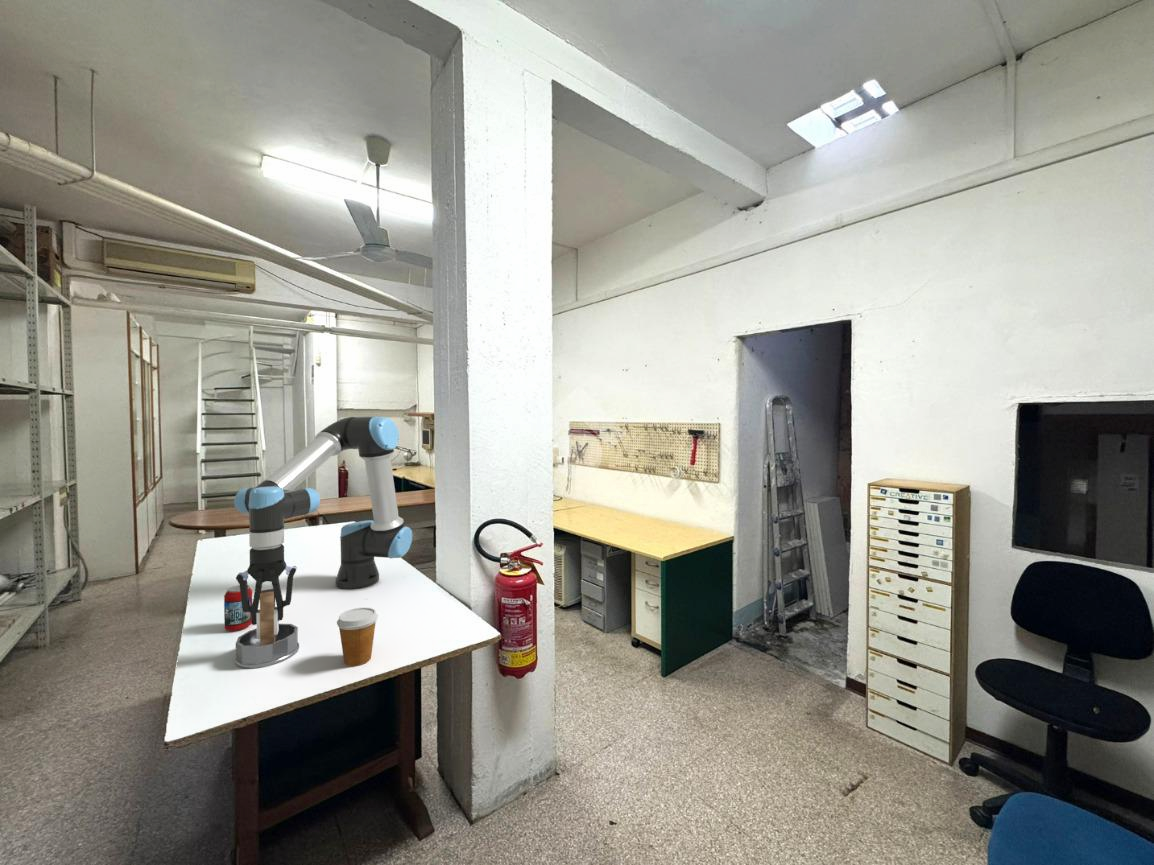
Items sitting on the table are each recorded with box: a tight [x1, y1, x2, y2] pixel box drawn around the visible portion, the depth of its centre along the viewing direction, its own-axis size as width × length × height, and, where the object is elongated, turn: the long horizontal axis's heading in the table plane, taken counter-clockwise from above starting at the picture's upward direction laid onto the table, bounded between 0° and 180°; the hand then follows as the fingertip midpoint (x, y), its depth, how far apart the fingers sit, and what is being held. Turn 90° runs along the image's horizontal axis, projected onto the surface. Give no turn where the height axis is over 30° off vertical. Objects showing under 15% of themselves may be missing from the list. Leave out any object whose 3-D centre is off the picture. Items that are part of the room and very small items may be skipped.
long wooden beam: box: [259, 588, 276, 645], centre depth 120 cm, size 3×3×14 cm
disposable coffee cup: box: [336, 607, 379, 667], centre depth 117 cm, size 10×10×12 cm
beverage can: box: [223, 584, 253, 632], centre depth 136 cm, size 7×7×12 cm
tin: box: [234, 623, 300, 670], centre depth 120 cm, size 14×14×5 cm
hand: (267, 634), depth 120 cm, fingers closed on long wooden beam, 3 cm apart
